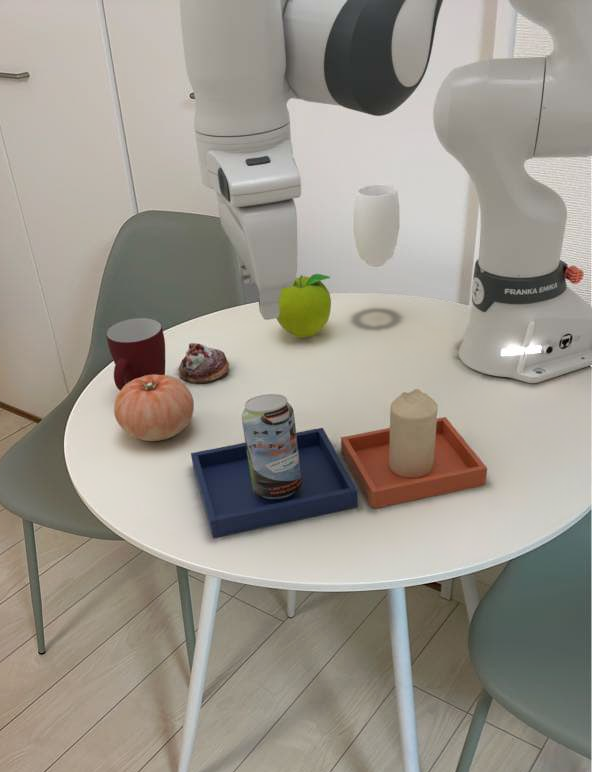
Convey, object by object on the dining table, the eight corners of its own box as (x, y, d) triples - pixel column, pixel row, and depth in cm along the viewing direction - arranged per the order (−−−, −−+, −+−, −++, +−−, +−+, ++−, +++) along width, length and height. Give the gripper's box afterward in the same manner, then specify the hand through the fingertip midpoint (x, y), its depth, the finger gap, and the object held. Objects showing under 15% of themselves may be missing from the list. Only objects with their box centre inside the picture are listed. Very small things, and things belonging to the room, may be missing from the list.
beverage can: (266, 513, 89) (257, 425, 81) (240, 482, 94) (229, 397, 86) (313, 495, 91) (308, 408, 83) (284, 466, 96) (277, 382, 88)
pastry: (171, 380, 116) (165, 350, 113) (192, 358, 122) (188, 329, 118) (218, 386, 114) (213, 356, 111) (237, 363, 119) (234, 334, 116)
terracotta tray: (444, 432, 100) (445, 416, 99) (485, 485, 91) (487, 468, 89) (341, 453, 98) (340, 437, 97) (372, 509, 89) (372, 492, 87)
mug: (156, 415, 109) (142, 352, 102) (105, 412, 110) (88, 349, 104) (181, 380, 116) (170, 319, 110) (132, 377, 118) (119, 316, 112)
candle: (383, 474, 93) (385, 403, 87) (395, 450, 97) (397, 381, 91) (427, 481, 91) (432, 410, 85) (438, 457, 95) (443, 386, 89)
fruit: (280, 322, 130) (275, 264, 123) (334, 322, 128) (332, 264, 122) (272, 346, 123) (267, 287, 116) (328, 347, 122) (326, 286, 115)
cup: (366, 331, 125) (367, 200, 111) (347, 316, 130) (344, 188, 117) (405, 321, 127) (409, 191, 113) (383, 306, 132) (386, 180, 118)
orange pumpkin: (109, 426, 107) (97, 376, 102) (179, 404, 111) (170, 354, 106) (136, 462, 100) (124, 410, 95) (210, 436, 103) (202, 385, 98)
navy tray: (323, 443, 100) (322, 427, 99) (357, 507, 89) (357, 490, 88) (193, 469, 98) (190, 453, 96) (212, 538, 87) (209, 521, 85)
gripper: (195, 137, 78) (213, 268, 88) (234, 194, 63) (251, 344, 73) (253, 128, 79) (265, 259, 89) (306, 182, 64) (314, 332, 73)
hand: (259, 298), depth 80 cm, fingers open, 8 cm apart
